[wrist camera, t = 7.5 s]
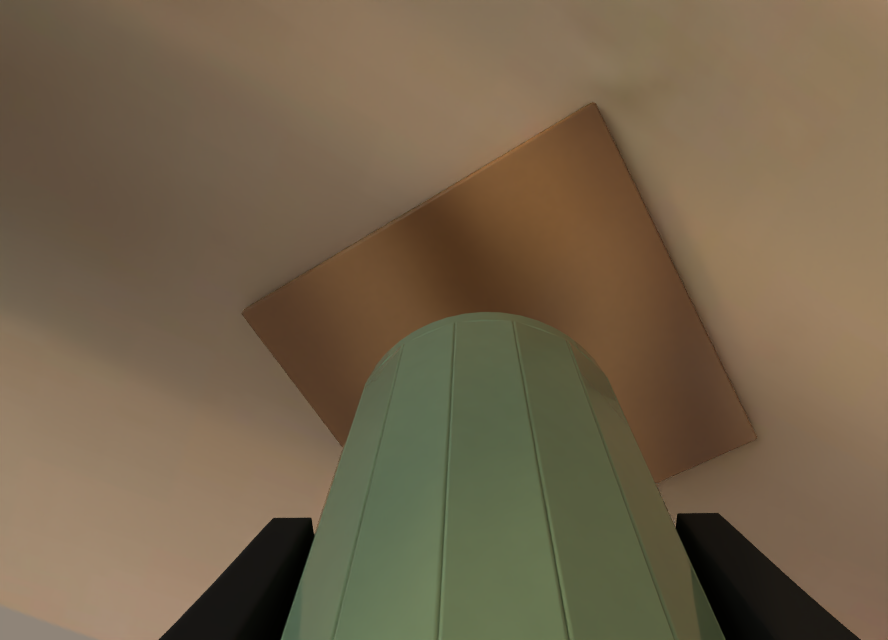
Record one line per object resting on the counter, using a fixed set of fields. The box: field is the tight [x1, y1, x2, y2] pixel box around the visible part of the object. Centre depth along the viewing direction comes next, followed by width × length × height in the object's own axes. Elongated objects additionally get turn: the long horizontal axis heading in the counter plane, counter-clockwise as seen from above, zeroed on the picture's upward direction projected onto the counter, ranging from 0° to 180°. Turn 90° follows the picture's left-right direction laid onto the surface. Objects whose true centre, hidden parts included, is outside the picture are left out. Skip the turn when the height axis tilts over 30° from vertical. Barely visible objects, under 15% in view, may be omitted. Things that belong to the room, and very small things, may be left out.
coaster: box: [242, 102, 757, 483], centre depth 20 cm, size 12×12×1 cm
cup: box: [279, 312, 726, 640], centre depth 10 cm, size 6×6×8 cm
